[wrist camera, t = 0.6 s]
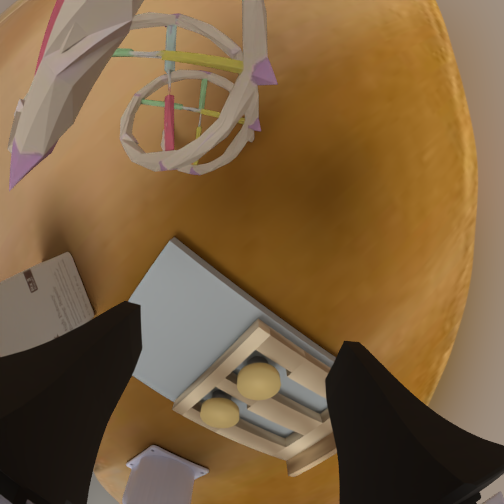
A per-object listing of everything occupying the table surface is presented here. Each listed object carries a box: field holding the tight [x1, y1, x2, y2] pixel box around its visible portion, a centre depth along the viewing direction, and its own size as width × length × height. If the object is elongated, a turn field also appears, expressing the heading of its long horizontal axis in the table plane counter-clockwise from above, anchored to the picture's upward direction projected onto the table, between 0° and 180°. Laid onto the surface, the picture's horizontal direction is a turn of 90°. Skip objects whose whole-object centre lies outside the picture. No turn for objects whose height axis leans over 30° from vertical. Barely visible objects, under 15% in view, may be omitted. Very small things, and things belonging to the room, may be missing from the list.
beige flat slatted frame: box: [172, 319, 337, 477], centre depth 19 cm, size 11×14×3 cm
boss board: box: [128, 237, 336, 438], centre depth 20 cm, size 12×23×4 cm, turn 51°
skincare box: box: [0, 252, 94, 357], centre depth 13 cm, size 6×4×12 cm
